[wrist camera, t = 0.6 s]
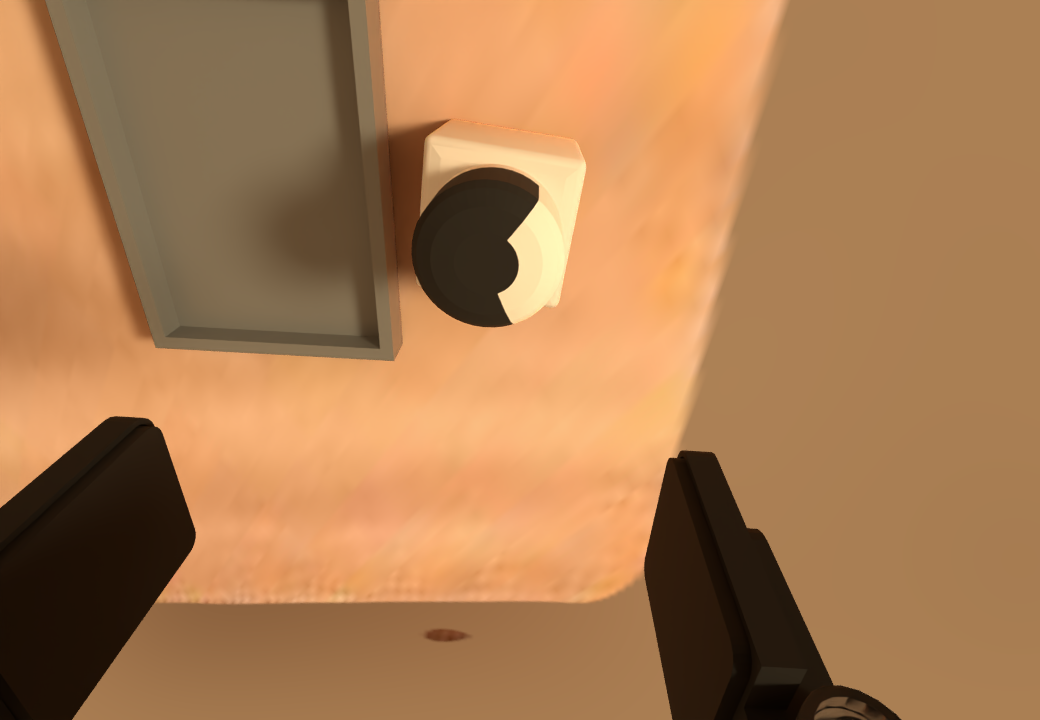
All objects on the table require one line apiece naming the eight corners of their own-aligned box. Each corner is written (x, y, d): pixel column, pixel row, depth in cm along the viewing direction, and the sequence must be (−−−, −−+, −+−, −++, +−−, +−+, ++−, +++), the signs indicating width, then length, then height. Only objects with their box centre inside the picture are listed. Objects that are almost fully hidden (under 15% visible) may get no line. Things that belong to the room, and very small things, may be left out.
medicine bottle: (438, 244, 33) (389, 332, 22) (448, 116, 30) (396, 151, 19) (554, 263, 33) (560, 359, 23) (578, 138, 30) (598, 184, 19)
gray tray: (70, -38, 27) (30, -46, 25) (376, -23, 27) (362, -30, 24) (178, 330, 36) (155, 347, 34) (402, 343, 36) (394, 360, 34)
